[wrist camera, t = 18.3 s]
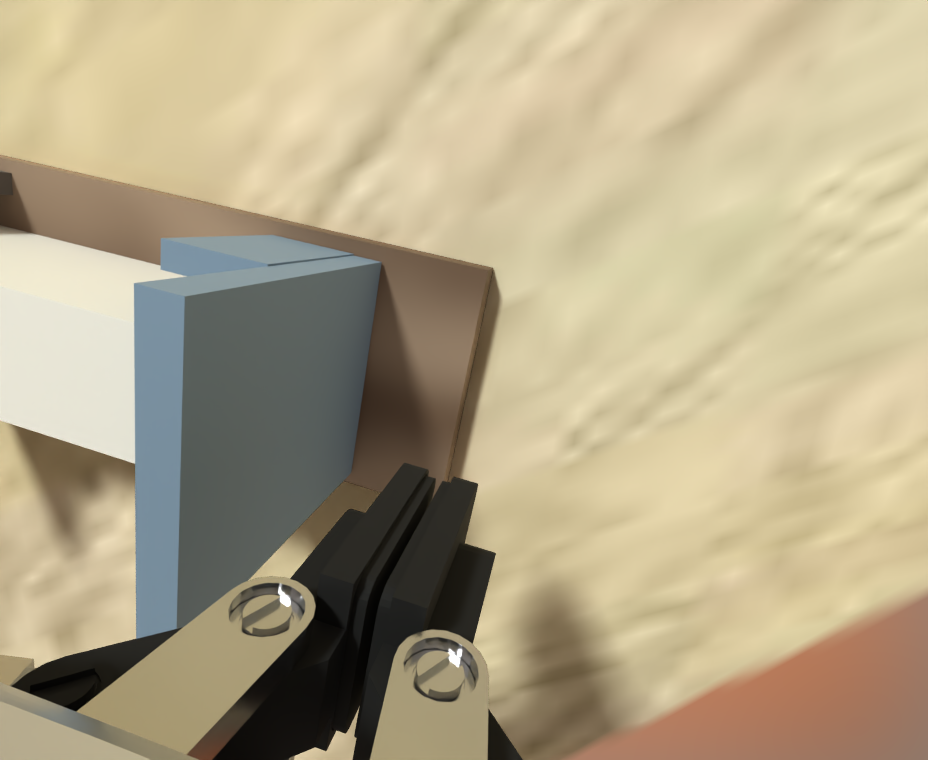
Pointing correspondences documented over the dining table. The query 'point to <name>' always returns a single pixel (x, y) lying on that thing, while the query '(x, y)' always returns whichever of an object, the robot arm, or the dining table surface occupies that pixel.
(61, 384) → the slat
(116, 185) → the endcap rack
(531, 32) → the dining table surface
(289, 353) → the sliding end cap
